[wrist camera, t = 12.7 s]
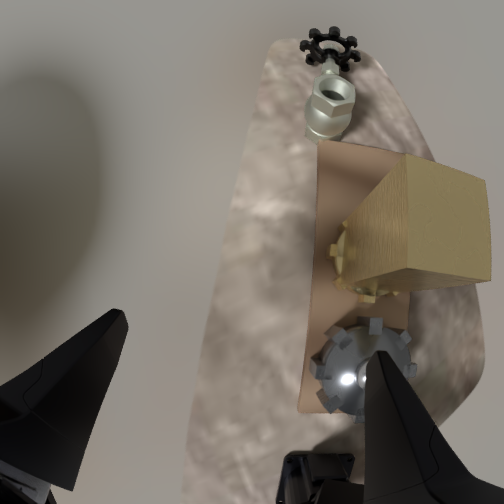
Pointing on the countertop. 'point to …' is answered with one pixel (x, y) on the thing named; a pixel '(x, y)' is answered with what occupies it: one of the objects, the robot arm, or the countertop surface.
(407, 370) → the sun gear
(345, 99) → the valve
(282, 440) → the countertop surface
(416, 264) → the gold tall block
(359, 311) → the carrier board
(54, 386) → the robot arm
